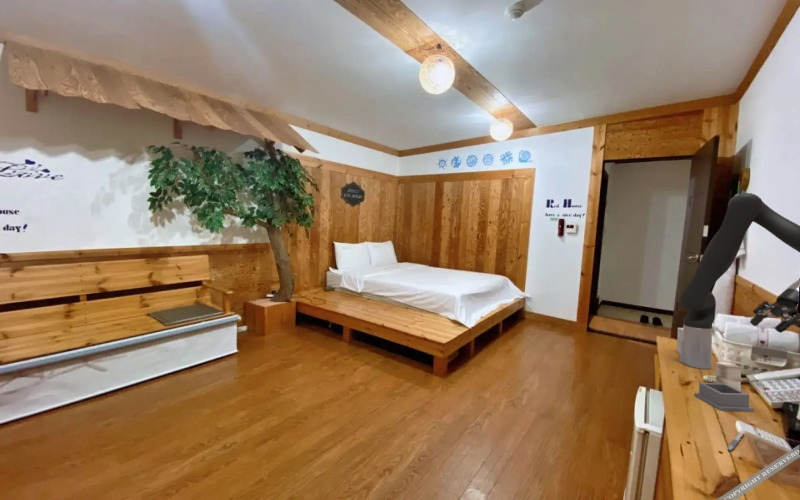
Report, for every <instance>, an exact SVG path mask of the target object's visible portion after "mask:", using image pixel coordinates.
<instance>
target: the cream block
mask: <svg viewBox="0 0 800 500" xmlns="http://www.w3.org/2000/svg"><path fill="white" fill-rule="evenodd" d="M715 370H716V371H715V373H716V374H715V378H716V379H715V383H725V384H727V385H729V386H731V387H734V388H736V389H738V390H740V391H742V390H741V389H742V388H741V385H742V384H741V383H742V366H739V365H737V364H734V363H732V362H725V361H723V362H718V361H716V369H715Z"/></svg>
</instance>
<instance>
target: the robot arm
mask: <svg viewBox="0 0 800 500" xmlns="http://www.w3.org/2000/svg"><path fill="white" fill-rule="evenodd" d="M753 223H756V224H757V225H759V226H760V227H761V228H764V230H766V231H767V232H770V234H772V235H773V236H775V237H776V238H777V239H779V240H780V241H781V242H782V243H784V244H785V245H787V246H789V247H790V248H791V249H793V250H794V251H797V252H798V253H800V225H799V224H797V223H796V222H793V221H792V220H790V219H788V218H786V217H784V216H783V215H781V214H779V213H778V212H776V211H775V210H774V209H772V208H770V207H769V205H767V204H766V203H765V202H764V201H763V199H761V197H760V196H759V195H756V194H754V193H751V192H744V193H743V192H742V193H739V194H736V195H734V196H732V197H731V198H730V200H729V201H728V204H727V210H726V213H725V216H724V217H723V220H722V224H721V226H720V228H719V229H718V231H717V232H716V233H715V235H713V237H712V239H711V240H710V242H709V243H708V244H707V246H706V248H705V250H704V252H703V254H702V257H701V260H700V261H699V264H698V265H697V267H696V269H695V272H694V273H693V276H692V277H691V279H690V281H689V282H688V283H687V284H686V287H685V288H684V290H683V292H682V293H681V294H680V297H679V302H680V305H681V306H682V308H683V309H684V310H686V311H688V313H687V315H686V316H685V317H684V318H683V320H682V321H683V326H682V328H683V341H681V345H680V354H679V355H680V356H679V357H680V358H679V361H680V363H682V364H684V365H686V366H688V367H692V368H696V369H700V370H701V369H702V370H709V369H710V370H711V368H712V353H713V351H712V350H713V349H712V348H713V347H712V345H713V343H712V342H713V341H712V340H713V334H712V333H713V323H714V322H715V319H716V310H717V308H716V306H717V305H716V304H717V303H716V301H717V300H716V297H715V295H714V293H713V292H711V289H712V287H713V286H714V285H715V283H716V282H717V281H718V280H720V278H721V277H722V276H723V275H725V274H726V273H727V272H728V270H729V269H730V268H731V267H732V265H733V263H734V262H735V259H736V257H737V256H738V253H739V251H740V249H741V247H742V244H743V242H744V238H745V235H746V234H747V231H748V230H749V228H750V226H751V225H752V224H753ZM799 286H800V278H799V279H797V280H796V281H795V282H793V283H792V284H790V285H789V286H787V288H786V289H785V290H784V291H782V293H780V294H779V295H778V296H777V298H776V301H775V302H773V303H770V302H768V301H763V302H762V303H761V304H759V305H758V306H757V307H755V308H754V310H752V313H754V317H752V318H751V319H750V321H749V323H750V324H751V325H752V326H754V327H757V326H758V325H759V324H761V322H763V321H764V320H765V319H767V318H775V317H777V318H782V319H783V320H782V321H780V322H779V323H778V324H777V325H776V326H775V327H774V330H775V331H777V333H780V334H781V333H783V332H785V331H787V329H789V328H790V327H792V326H797V327H800V313H798V314H797V304H798V294H799Z"/></svg>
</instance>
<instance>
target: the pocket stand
mask: <svg viewBox="0 0 800 500" xmlns="http://www.w3.org/2000/svg"><path fill="white" fill-rule="evenodd" d="M698 384H699V385H698V392H694V396H695V397H696V398H697V399H700V400H701V401H703V402H705V403H706V404H708V405H710V406H712V407H714V408H715V409H716V410H718V411H722V412H751V413H753V412H755V408H754V407H752V406H750V394H748V393H746V392H744V391H742V390H741V391H740V390H738V389H736V388H734V387H731V386H729V385H727V384H725V383H716V382H710V383H709V382H699V383H698Z"/></svg>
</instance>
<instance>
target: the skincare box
mask: <svg viewBox="0 0 800 500" xmlns="http://www.w3.org/2000/svg"><path fill="white" fill-rule="evenodd" d="M681 341H683V327H677V339H676V344H677V345H676V352H677V353H678V354H679V355H680V345H681Z"/></svg>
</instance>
